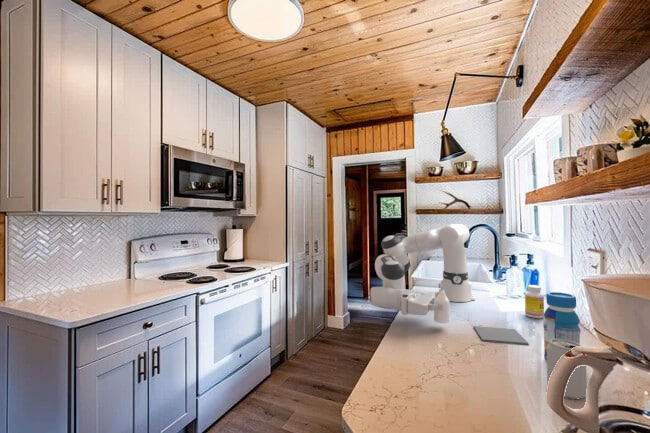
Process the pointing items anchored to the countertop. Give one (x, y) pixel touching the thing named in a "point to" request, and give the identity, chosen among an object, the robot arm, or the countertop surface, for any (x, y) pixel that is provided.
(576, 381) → the can
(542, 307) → the supplement bottle
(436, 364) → the countertop surface
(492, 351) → the countertop surface
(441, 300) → the white piece
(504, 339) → the mat
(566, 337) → the beverage bottle
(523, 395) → the countertop surface
